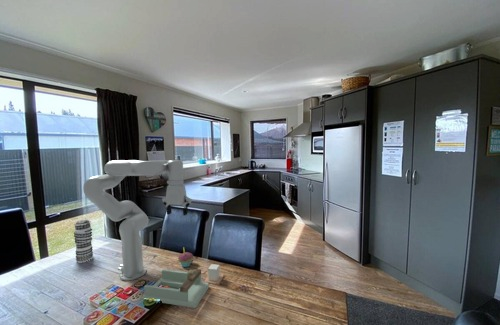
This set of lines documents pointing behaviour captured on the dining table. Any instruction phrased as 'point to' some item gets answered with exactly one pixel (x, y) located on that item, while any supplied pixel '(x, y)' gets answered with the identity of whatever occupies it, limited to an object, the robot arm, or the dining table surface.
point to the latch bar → (190, 279)
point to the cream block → (213, 272)
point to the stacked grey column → (83, 241)
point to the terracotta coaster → (215, 281)
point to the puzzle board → (176, 289)
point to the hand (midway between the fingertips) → (177, 214)
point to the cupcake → (185, 258)
